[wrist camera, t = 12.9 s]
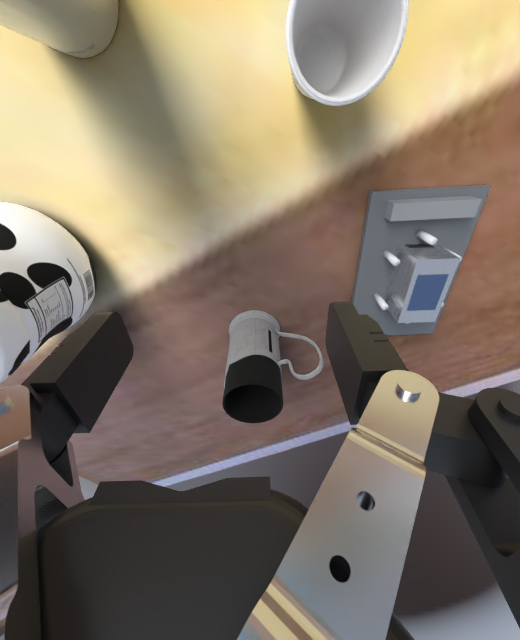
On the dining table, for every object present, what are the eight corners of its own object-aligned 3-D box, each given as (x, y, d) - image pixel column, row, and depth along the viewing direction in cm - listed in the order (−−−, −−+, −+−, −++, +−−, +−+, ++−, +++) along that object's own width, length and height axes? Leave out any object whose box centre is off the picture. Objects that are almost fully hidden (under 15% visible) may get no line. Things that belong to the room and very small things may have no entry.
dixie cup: (363, 101, 28) (406, 86, 20) (285, 125, 30) (296, 119, 21) (360, -15, 24) (414, -97, 16) (269, 17, 25) (274, -43, 17)
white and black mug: (218, 322, 44) (203, 394, 32) (298, 287, 41) (315, 353, 28) (244, 358, 49) (239, 433, 36) (318, 329, 45) (340, 401, 33)
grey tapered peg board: (368, 190, 33) (383, 197, 29) (484, 184, 33) (514, 190, 29) (345, 332, 46) (353, 350, 42) (429, 329, 45) (445, 347, 41)
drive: (397, 243, 36) (417, 259, 31) (435, 242, 36) (461, 258, 31) (382, 302, 41) (398, 323, 36) (415, 301, 41) (435, 322, 36)
